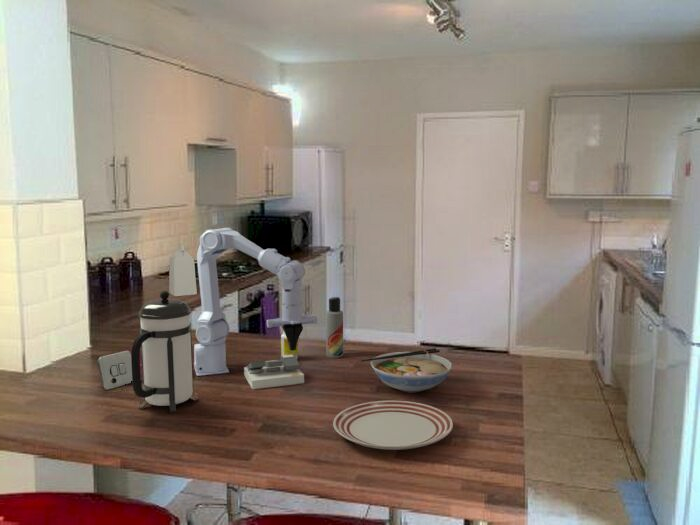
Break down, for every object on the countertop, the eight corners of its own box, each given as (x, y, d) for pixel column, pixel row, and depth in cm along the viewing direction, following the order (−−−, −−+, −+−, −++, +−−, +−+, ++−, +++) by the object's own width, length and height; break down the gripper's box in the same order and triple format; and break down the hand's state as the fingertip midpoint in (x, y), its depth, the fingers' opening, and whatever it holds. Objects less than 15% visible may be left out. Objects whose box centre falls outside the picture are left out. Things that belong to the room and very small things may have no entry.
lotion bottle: (341, 358, 190) (341, 299, 187) (324, 357, 191) (324, 298, 188) (344, 353, 195) (344, 296, 193) (328, 353, 196) (328, 295, 194)
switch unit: (252, 389, 161) (252, 377, 161) (244, 375, 173) (244, 363, 173) (304, 383, 166) (304, 371, 166) (292, 369, 178) (292, 358, 178)
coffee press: (134, 398, 154) (128, 288, 150) (195, 391, 160) (191, 284, 156) (134, 423, 138) (128, 300, 134) (202, 413, 144) (198, 295, 140)
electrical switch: (105, 391, 160) (102, 358, 159) (96, 388, 163) (93, 356, 163) (136, 382, 167) (133, 350, 167) (127, 380, 170) (124, 349, 170)
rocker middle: (269, 367, 165) (268, 361, 166) (264, 366, 172) (263, 361, 172) (282, 365, 167) (282, 360, 167) (277, 365, 173) (277, 359, 174)
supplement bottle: (301, 359, 189) (301, 328, 188) (287, 362, 186) (286, 331, 185) (292, 355, 194) (291, 325, 192) (278, 358, 190) (277, 328, 189)
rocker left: (251, 367, 164) (251, 361, 164) (247, 370, 170) (247, 364, 171) (265, 365, 165) (264, 360, 166) (261, 368, 172) (260, 363, 172)
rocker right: (286, 370, 167) (286, 365, 167) (280, 360, 173) (280, 355, 173) (299, 369, 169) (299, 364, 168) (293, 358, 175) (293, 353, 174)
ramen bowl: (388, 409, 147) (388, 378, 146) (354, 381, 168) (354, 354, 167) (471, 396, 156) (472, 366, 155) (429, 371, 177) (429, 345, 176)
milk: (196, 294, 304) (195, 245, 301) (174, 296, 298) (172, 246, 295) (190, 290, 314) (189, 243, 311) (169, 292, 308) (167, 244, 305)
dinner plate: (308, 433, 133) (308, 419, 133) (388, 402, 152) (388, 390, 152) (398, 475, 114) (398, 459, 113) (476, 433, 133) (476, 419, 132)
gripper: (270, 308, 159) (271, 355, 161) (320, 304, 164) (320, 350, 166) (264, 303, 166) (265, 349, 168) (313, 299, 171) (313, 344, 173)
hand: (292, 349), depth 167 cm, fingers closed
